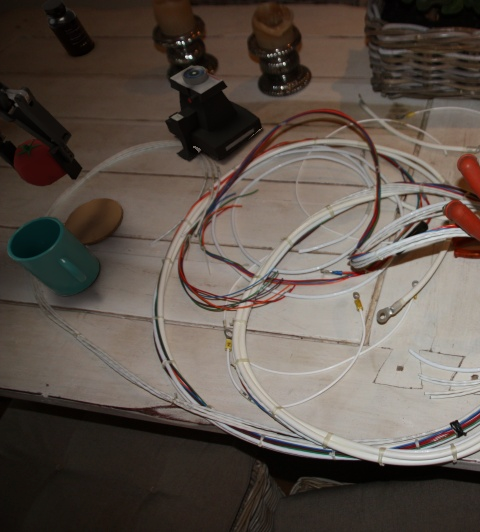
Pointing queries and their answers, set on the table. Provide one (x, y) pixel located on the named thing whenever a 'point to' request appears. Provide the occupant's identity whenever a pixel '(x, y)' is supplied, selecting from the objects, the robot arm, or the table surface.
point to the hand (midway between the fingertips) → (53, 173)
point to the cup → (53, 256)
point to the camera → (208, 115)
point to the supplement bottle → (67, 28)
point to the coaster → (95, 220)
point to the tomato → (36, 164)
